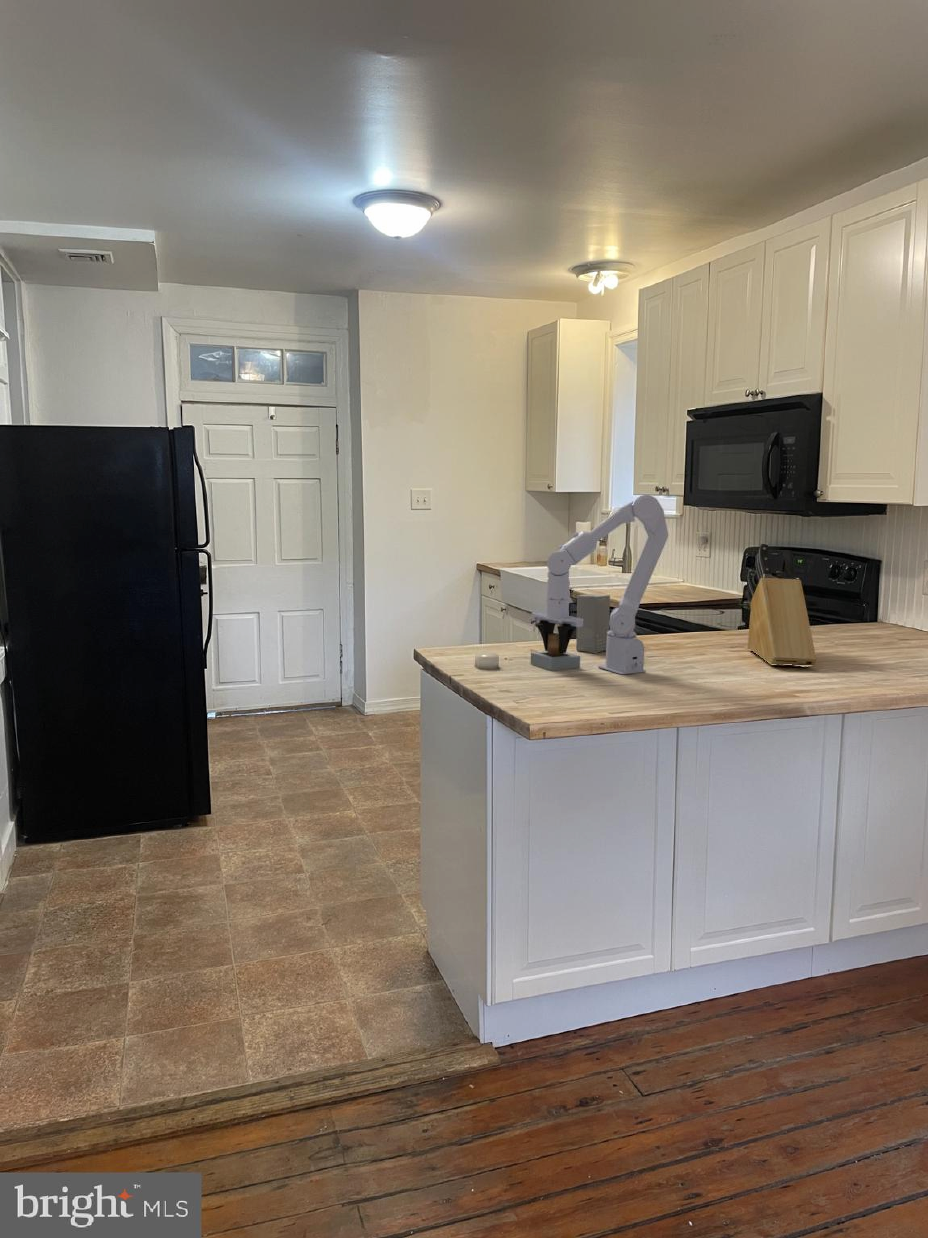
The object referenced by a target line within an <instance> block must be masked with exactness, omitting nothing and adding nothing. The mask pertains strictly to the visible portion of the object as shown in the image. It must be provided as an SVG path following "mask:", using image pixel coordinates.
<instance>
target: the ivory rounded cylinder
mask: <svg viewBox="0 0 928 1238" xmlns="http://www.w3.org/2000/svg"><path fill="white" fill-rule="evenodd" d="M499 655H500V654H497V653H495V652H478V653H475V654H474V667H475V668H476V669H482V670H495V669H498V668H499V663H500V656H499Z"/></svg>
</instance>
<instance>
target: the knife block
mask: <svg viewBox="0 0 928 1238" xmlns="http://www.w3.org/2000/svg"><path fill="white" fill-rule="evenodd" d="M782 558H783V560H784V567H785V568H784V569H785V570H786V574H787V577H788V578H783V577H782V572H781V571H776V572H775V571H772V560H771V555H770V551H769V544H768V543H767V542H761V544H760V545H759V550H758V552H757V554H756V557H755V570H752V569H749V571H748V573H747V584H748V588H749V589H747V590H746V596H747V600H748V607H749V611H750V615H749V623H748V624H749V626H748V638H747V639H748V640H747V650H748V649H751V650H752V651H753V652H754V653H757V654H758V655H759V656H760V657H762V658H763V659H764V660H766V661H768V662H769V663H770V664H792V665H814V666H815V664H816V662H817V656H816V651H815V646H814V640H813V636H812V629H811V625H810V621H809V620H810V619H809V615H808V614H809V613H808V610H807V605H806V600H805V593H804V590H803V584H802V581H801V579H799V578H796V574H795V573H796V571H795V570H796V569H795V567H796V566H795V560H794V556H793V553H792V551H791V550H789V549H786V550H784V551H783V552H782ZM757 579H758V580H757ZM753 652H752V653H753ZM754 653H753V654H754ZM758 655H757V656H758ZM759 656H758V657H759ZM760 657H759V658H760ZM763 659H762V660H763ZM764 660H763V661H764ZM766 661H765V662H766ZM770 664H769V665H770Z"/></svg>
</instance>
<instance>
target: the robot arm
mask: <svg viewBox="0 0 928 1238" xmlns="http://www.w3.org/2000/svg"><path fill="white" fill-rule="evenodd" d="M635 517H636V518H637V520H638V521H639V522H640V523H641V524H642V525H643V528H644V531H645V532H646V534H647V538H646V541H645V543H644V544H643V548H642V550H641V551H640V555H639V556H638V559H637V561H636V564H635V566H634V569H633V571H632V573H631V576H630V577H629V581H628V583H627V584H626V587H625V590H624V591H623V592H624V593H623V594H622V597H620V601H619V603H618V604H617V606H616V607H614V608H613V609H612V610H611V612H610V614H609V631H608V632H607V646H606V650H605V664H600V665H598V666H597V668H599V669H601V670H602V669H603V670H606V671H609V672H613V673H616V674H619V675H628V674H638V673H646V672H647V670H646V669H644V665H645V664H644V663H645V645H644V642H643V641H642V640H641V639H639V638H638V637H637V632H635V630H634V629H635V628H636V615H637V613H638V611H639V607H640V603H641V601H642V599H643V597H644V594H645V591H646V590H647V587H648V585H649V582H650V580H651V578H652V576H653V573H654V571H655V568H656V566H657V564H658V562H659V559H660V557H661V554H662V552H663V550H664V548H665V545H666V543H667V541H668V537H669V531H668V525H667V521H666V517H665V510H664V508H663V507H662V505H661V503H660V502H659V500H658V499H657V497H654V496H652V495H650V494H642V495H640V496H638V497H637V498H636V499H635V500H632V501H630V502H628V503H626V504H624V505H623V506H621V507H619V508H618V509H617V510H616V511H614V512H613V513H612V514H611V515H609V516H608V517H606V519H604V520H603V521H601V522H600V523H599V524H598V525H597V526H595V527H594V528H593V529H592V530H590V531H585V530H581V531H580V532H577V531H576V532H575V533H574V534H573V535H572V536H573V537H572V538H571V539H570V540H568V541H567V542H565V544H563V545H562V544H560V545H559V546H558V547H557V548H558V550H557V551H553V552H552V553H551V554H550V555H549V556H548V558H547V561H546V566H547V568H548V569H547V570H548V572H547V580H546V596H545V598H546V600H545V602H546V603H545V613H543V612H532V613H531V619H530V621H533V622H537V621H538V622H539V623H536V628H537V629H538V631H539V633H540V636H541V639H542V643H543V646H544V651H547V649H548V634H549V633H555V627H556V625H558V626H557V627H556V628H557V633H559V652H560V653H566V652H567V650H568V646H569V643H570V640H571V638H572V636H573V635H574V633H575V632H576V631H577V627H582V626H583V619H581V618H577V616H576V617H575V616H571V615H569V612H570V611H569V609H570V607H569V606H570V586H571V584H570V583H571V582H570V569H571V567H572V565H577V564H579V563H580V562H581V561H583V560H584V559H585V558H587V557H588V556H589V555H591V554H592V553H593V552H594V551H596V550H597V546H598V542H599V541H600V540H601V539H604V537H606V536H607V535H609V534H611V532H613V531H614V530H616V529H617V528H619V527H620V526H621V525H623V524H625V523H626V524H627V523H634V522H636V519H635Z"/></svg>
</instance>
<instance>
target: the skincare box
mask: <svg viewBox="0 0 928 1238" xmlns="http://www.w3.org/2000/svg"><path fill="white" fill-rule="evenodd" d="M610 601H611V595H610V594H598V593H597V594H595V593H590V594H589V593H588V594H587V593H585V594H579V595H577V596H576V618H581V619H583V626H582V627H576V645H575V646H576V647H575V648H576V651H578V652H579V651H580V652H587V653H593V654H598V653H602V652H606V646H607V632H608V631H610V626H609V621H610V614H611V612H610V604H611V602H610Z"/></svg>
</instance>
